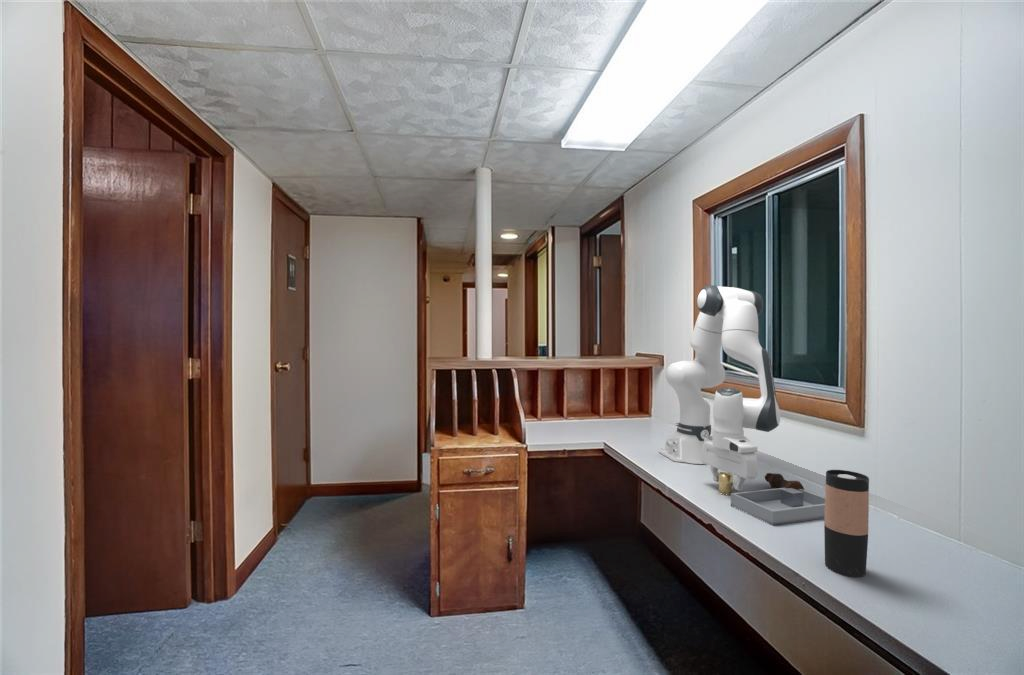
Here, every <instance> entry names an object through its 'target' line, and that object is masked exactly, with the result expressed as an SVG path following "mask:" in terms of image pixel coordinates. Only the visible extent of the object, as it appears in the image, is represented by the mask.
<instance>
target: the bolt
mask: <svg viewBox="0 0 1024 675" xmlns="http://www.w3.org/2000/svg"><path fill="white" fill-rule="evenodd" d="M764 479H765V481H766V482H768V484H769V485H770V487H771V489H777V488H793V489H796V490H798V489H803V490H805V488H804V486H803V484H802V483H801V481H799V480H788V479H785V478H784V476H783V475H782V474H781V473H775V472H774V473H772V472H767V473H766V474H765V476H764Z"/></svg>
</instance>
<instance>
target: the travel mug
mask: <svg viewBox="0 0 1024 675" xmlns="http://www.w3.org/2000/svg"><path fill="white" fill-rule="evenodd" d="M869 487H870V477H869V476H868V475H866V474H863V473H860V472H855V471H852V470H844V469H827V470H826V472H825V492H824V493H825V495H824V497H825V518H823V519H824V522H823V523H824V525H823V527H824V530H823V531H824V534H823V536H824V564H825V567H826V566H827V567H828V568H827V567H826V568H827V569H829V570H830V569H831V571H832V570H833V571H832V572H834V573H836V574H839V575H842V576H845V575H846V576H845V577H850V576H851V577H852V578H860V577H864V576H866V572H867V562H868V561H867V558H868V543H869V516H870V515H869V511H870V509H869V508H870V506H869V505H870V504H869V503H870V501H869V500H870V499H869V496H870V493H869V492H870V490H869V489H870V488H869Z"/></svg>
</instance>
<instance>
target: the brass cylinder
mask: <svg viewBox="0 0 1024 675" xmlns="http://www.w3.org/2000/svg"><path fill="white" fill-rule="evenodd" d="M718 473H719V482H718V493H719V492H720V493H722V494H721V495H723V494H727V495H726V496H731V495H730V494H731V493H734V491H733V490H734V474H731V473H728V472H726V471H721V472H720V471H719V472H718ZM720 493H719V494H720Z"/></svg>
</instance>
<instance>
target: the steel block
mask: <svg viewBox="0 0 1024 675" xmlns="http://www.w3.org/2000/svg"><path fill="white" fill-rule="evenodd" d="M803 496H804V492H801V491H799V490H796V489H793V488H787V489H781V503H782V504H785V505H787V506H790V507H792V508H794V507H802V506H803Z"/></svg>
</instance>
